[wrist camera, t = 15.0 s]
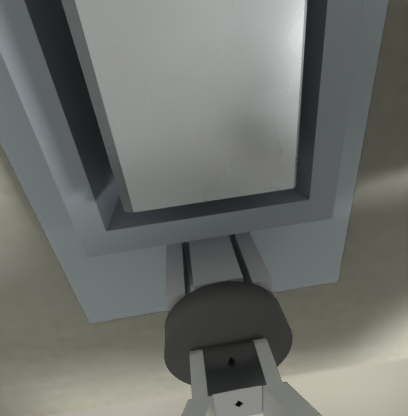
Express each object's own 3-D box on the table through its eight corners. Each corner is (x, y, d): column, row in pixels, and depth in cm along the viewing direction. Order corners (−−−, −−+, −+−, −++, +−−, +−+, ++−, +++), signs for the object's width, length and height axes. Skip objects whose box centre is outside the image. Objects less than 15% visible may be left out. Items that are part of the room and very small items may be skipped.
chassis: (404, -208, 8) (662, -506, 4) (329, 270, 18) (380, 337, 14) (-126, -160, 8) (-518, -459, 3) (93, 310, 17) (67, 393, 13)
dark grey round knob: (257, 223, 13) (295, 295, 9) (258, 294, 16) (289, 376, 12) (157, 239, 13) (151, 319, 9) (174, 308, 16) (176, 397, 11)
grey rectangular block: (244, -67, 9) (357, -263, 4) (250, 142, 12) (311, 202, 7) (92, -51, 9) (-33, -233, 3) (141, 158, 12) (118, 232, 7)
